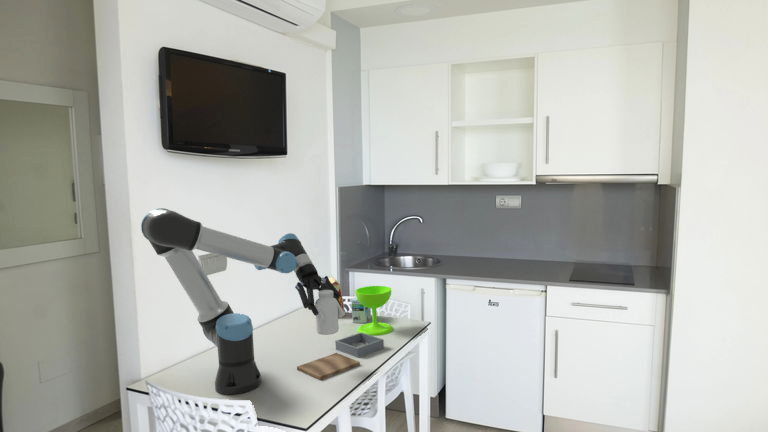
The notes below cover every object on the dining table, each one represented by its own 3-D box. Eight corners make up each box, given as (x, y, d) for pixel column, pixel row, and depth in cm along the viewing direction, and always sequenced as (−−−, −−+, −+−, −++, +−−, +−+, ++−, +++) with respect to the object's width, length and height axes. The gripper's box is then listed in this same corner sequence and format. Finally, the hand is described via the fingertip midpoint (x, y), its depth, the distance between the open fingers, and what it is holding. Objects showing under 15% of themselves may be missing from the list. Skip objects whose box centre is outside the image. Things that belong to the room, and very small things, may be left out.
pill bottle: (341, 333, 185) (339, 292, 183) (320, 336, 182) (317, 295, 180) (335, 326, 192) (333, 287, 191) (314, 330, 189) (311, 290, 188)
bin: (357, 357, 196) (357, 348, 196) (335, 349, 206) (335, 340, 206) (383, 347, 206) (383, 339, 205) (361, 340, 216) (361, 332, 215)
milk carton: (323, 314, 257) (321, 274, 255) (341, 312, 259) (339, 272, 257) (327, 319, 248) (324, 278, 246) (345, 316, 251) (343, 276, 249)
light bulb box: (366, 323, 239) (365, 300, 238) (352, 323, 240) (350, 300, 239) (371, 316, 249) (370, 294, 248) (357, 316, 251) (356, 294, 250)
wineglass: (397, 325, 234) (395, 286, 232) (386, 336, 219) (385, 295, 217) (364, 323, 239) (362, 285, 237) (351, 334, 224) (349, 293, 222)
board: (319, 380, 177) (319, 376, 177) (297, 369, 187) (296, 366, 187) (359, 364, 189) (359, 361, 189) (336, 355, 199) (336, 352, 199)
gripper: (322, 270, 203) (350, 317, 193) (277, 280, 189) (304, 331, 179) (330, 258, 199) (359, 306, 189) (283, 267, 185) (312, 319, 175)
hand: (332, 318), depth 184 cm, fingers closed on pill bottle, 8 cm apart
